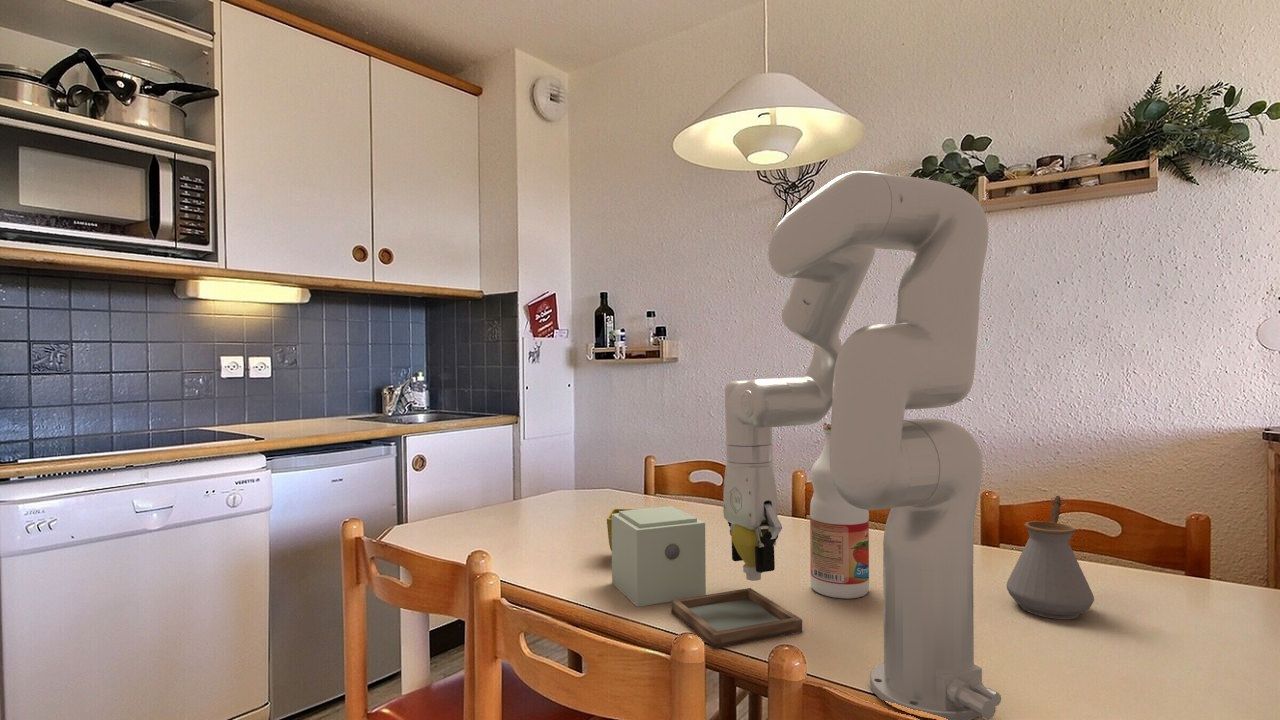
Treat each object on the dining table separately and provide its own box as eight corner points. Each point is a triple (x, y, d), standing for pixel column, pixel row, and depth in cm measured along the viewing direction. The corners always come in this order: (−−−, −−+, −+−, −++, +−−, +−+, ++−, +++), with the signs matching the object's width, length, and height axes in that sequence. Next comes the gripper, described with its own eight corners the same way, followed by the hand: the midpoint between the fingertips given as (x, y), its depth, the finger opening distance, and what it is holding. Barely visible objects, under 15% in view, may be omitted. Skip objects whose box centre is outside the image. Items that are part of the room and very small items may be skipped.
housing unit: (706, 596, 108) (706, 519, 108) (638, 607, 104) (637, 526, 104) (673, 573, 120) (673, 503, 120) (611, 582, 115) (610, 509, 115)
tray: (802, 632, 94) (802, 619, 94) (714, 648, 89) (714, 635, 89) (750, 599, 107) (750, 587, 107) (671, 612, 102) (671, 600, 102)
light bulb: (774, 585, 104) (772, 521, 104) (731, 584, 106) (729, 521, 106) (774, 572, 111) (772, 512, 111) (734, 571, 112) (731, 512, 112)
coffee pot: (1092, 631, 94) (1091, 525, 94) (1000, 612, 101) (999, 513, 101) (1100, 588, 111) (1099, 499, 111) (1021, 575, 118) (1020, 491, 118)
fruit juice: (809, 578, 117) (808, 419, 116) (865, 582, 115) (864, 420, 115) (812, 597, 107) (810, 424, 107) (873, 601, 105) (871, 425, 105)
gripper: (704, 452, 115) (707, 555, 115) (758, 462, 99) (761, 582, 99) (742, 449, 118) (745, 550, 118) (800, 459, 102) (804, 576, 101)
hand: (752, 564), depth 108 cm, fingers closed on light bulb, 6 cm apart
